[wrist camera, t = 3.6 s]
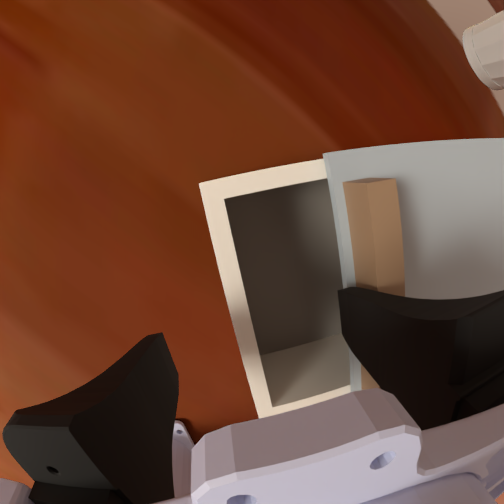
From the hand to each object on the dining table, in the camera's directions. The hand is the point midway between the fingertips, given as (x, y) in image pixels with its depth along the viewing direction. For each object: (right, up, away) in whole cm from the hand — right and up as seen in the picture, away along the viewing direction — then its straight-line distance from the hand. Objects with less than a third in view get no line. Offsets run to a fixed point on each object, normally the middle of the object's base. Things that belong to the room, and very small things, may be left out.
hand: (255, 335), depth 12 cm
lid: (+10, +3, +2) cm, 10 cm away
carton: (+8, +4, +8) cm, 11 cm away
